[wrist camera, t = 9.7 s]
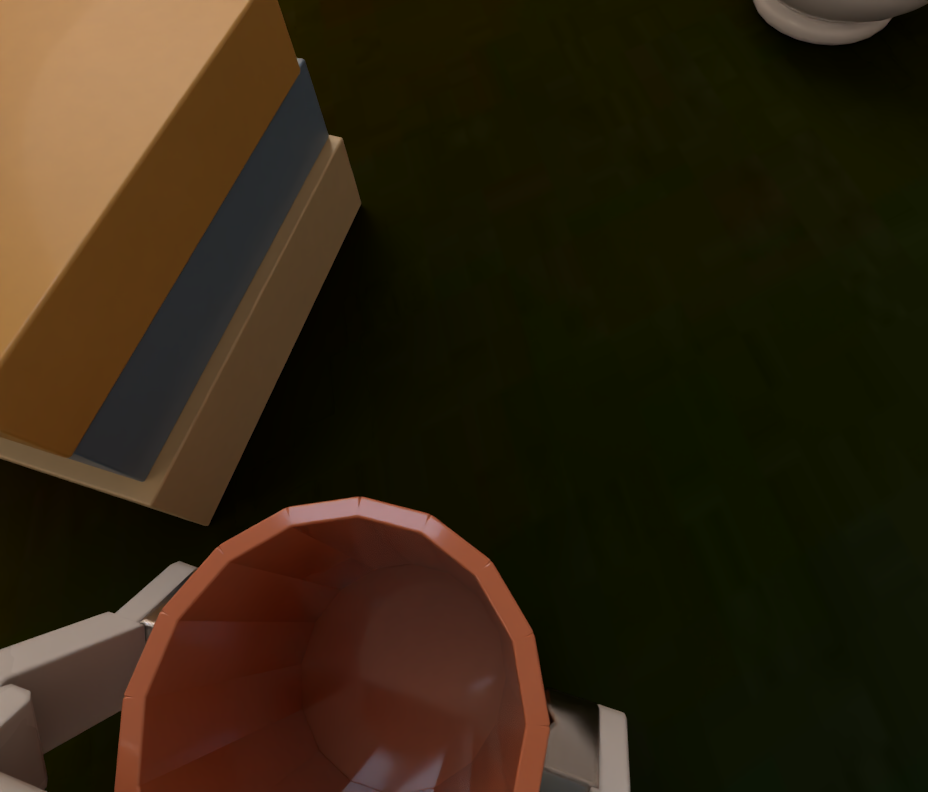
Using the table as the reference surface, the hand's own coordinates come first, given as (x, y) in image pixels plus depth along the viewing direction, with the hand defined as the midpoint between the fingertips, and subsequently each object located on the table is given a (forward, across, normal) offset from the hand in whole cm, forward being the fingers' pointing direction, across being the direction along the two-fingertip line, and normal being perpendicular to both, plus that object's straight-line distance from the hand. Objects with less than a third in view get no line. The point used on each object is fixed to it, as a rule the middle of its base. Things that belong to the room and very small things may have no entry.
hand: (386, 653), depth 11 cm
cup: (+3, 0, +4) cm, 5 cm away
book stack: (+9, +12, -2) cm, 15 cm away
